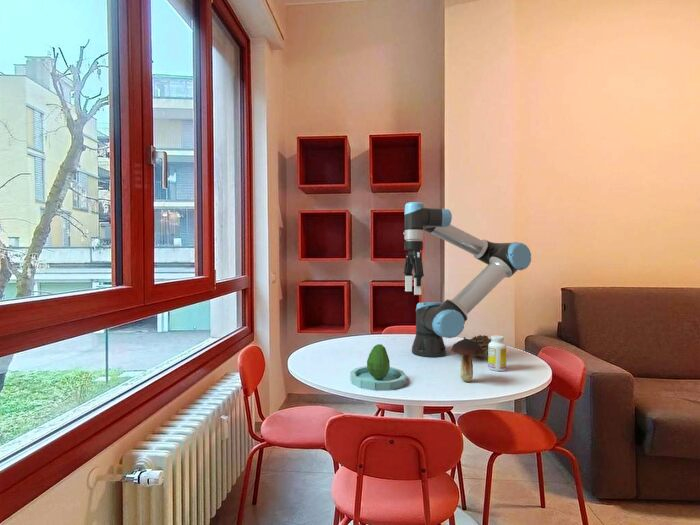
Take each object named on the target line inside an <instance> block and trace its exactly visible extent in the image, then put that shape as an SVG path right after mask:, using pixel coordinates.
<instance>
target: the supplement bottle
mask: <svg viewBox="0 0 700 525" xmlns="http://www.w3.org/2000/svg"><path fill="white" fill-rule="evenodd" d="M490 339H491V341H492V342H490V343H489V344H488V357H487V368H488V369H489V370H490V371H494V372H505V371H507V348H508V347H507V344H506V343H504V340H505V336H503V335H491V336H490Z"/></svg>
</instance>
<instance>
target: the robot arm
mask: <svg viewBox="0 0 700 525" xmlns="http://www.w3.org/2000/svg"><path fill="white" fill-rule="evenodd" d="M452 216H453V215H452V212H451V210H450V209H448V208H443V207H441V208H434V207H433V208H431V207H429V208H427V207H425V206H424V203H423V202H421V201H420V202H419V201H411V202H410V201H409V202H407V203H406V204H405V205H404V231H403V233H402V234H403V236H404V240H405V241H404V242H403V243H404V244H403V245H404V247H403V249H404V251H408V252H406V253H405V263H404V269H403V275H404V282H405V283H404V284H405V285H404V288H405V289H404V292H413V294H414V295H413V296H415V295H416V296H420V295H422V292H423V291H422V285H423V284H422V283H423V278H424V276H425V273H424V267H423V266H424V265H423V260H422V252H419V251H423V249H424V241H423V240H424V231H425V232H426V233H429V234H431V235H434V236H435V237H437V238H439V239H441V240H443V241H445V242H448V243H449V244H451V245H453V246H455V247H457V248H459V249H462V250H463V251H465V252H467V253H469V254H471V255H473V258H474V259H476V260H479V261H480V262H482V263H483V264H485V265H486V266H485V267H484V268H483V269H482V270H481V271H480V272H479V273H478V274H477V275H476V276H475V277H473V279H472V280H470V281H469V283H467V285H465V286H464V288H462V289H461V290H460V291H459V292H458V293H457V294H456V295H455V296H453V298H452V299H449V298H448V299H445V301H443V302H441V301H437V302H436V301H435V302H418V303H417V304H416V308H415V337H414V339H413V343H412V346H411V353H412V354H413V355H415V356H418V357H424V358H425V357H427V358H439V357H440V358H441V357H444V356H446V354H447V349H446V344H445V342H444V338H445V339H452V338H456V337H457V336H459V335H460V334H462V332H463V330H464V328H465V324H466V322H467V320H468V314H469V313H470V312H471V311H472V310H473V309H474V308H475V307H476V306H478V304H479V303H480V302H481V301H482V300H484V299H485V298H486V296H488V295H489V293H491V292H492V291H493V289H494V288H496V287H497V285H499V284H500V283H501V282H502V281H503V280H504V279H505V278H508V279H509V278H511V277H513V275H514V274H516V272H517V271H524V270H526V269H527V268H529V266H530V264H531V262H532V252H531V250H530V248H529V246H527V244H525V243H523V242H518V241H513V242H493V241H488V240H486V239H480V238H478V237H476V236H474V235H472V234H470V233H469V232H466V231H464V230H462V229H461V228H458V227H456V226H454V225H452V224H451V223H452V218H453V217H452ZM413 273H414V274H413ZM413 280H414V282H413ZM413 283H414V284H413ZM413 285H414V286H413ZM413 287H414V288H413Z"/></svg>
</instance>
